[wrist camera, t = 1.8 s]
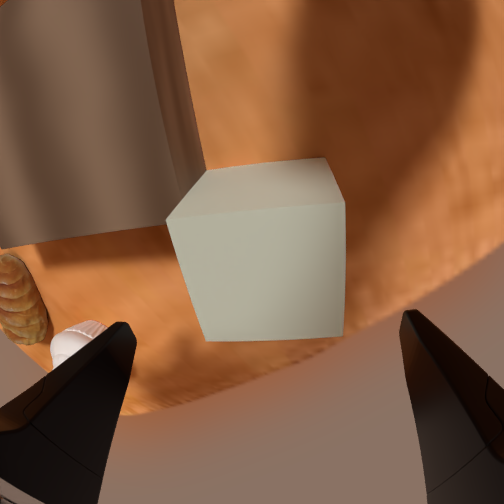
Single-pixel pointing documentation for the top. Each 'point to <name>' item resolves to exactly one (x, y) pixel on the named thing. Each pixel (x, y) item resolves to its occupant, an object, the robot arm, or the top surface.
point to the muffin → (74, 340)
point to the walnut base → (92, 118)
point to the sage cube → (264, 251)
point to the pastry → (20, 303)
